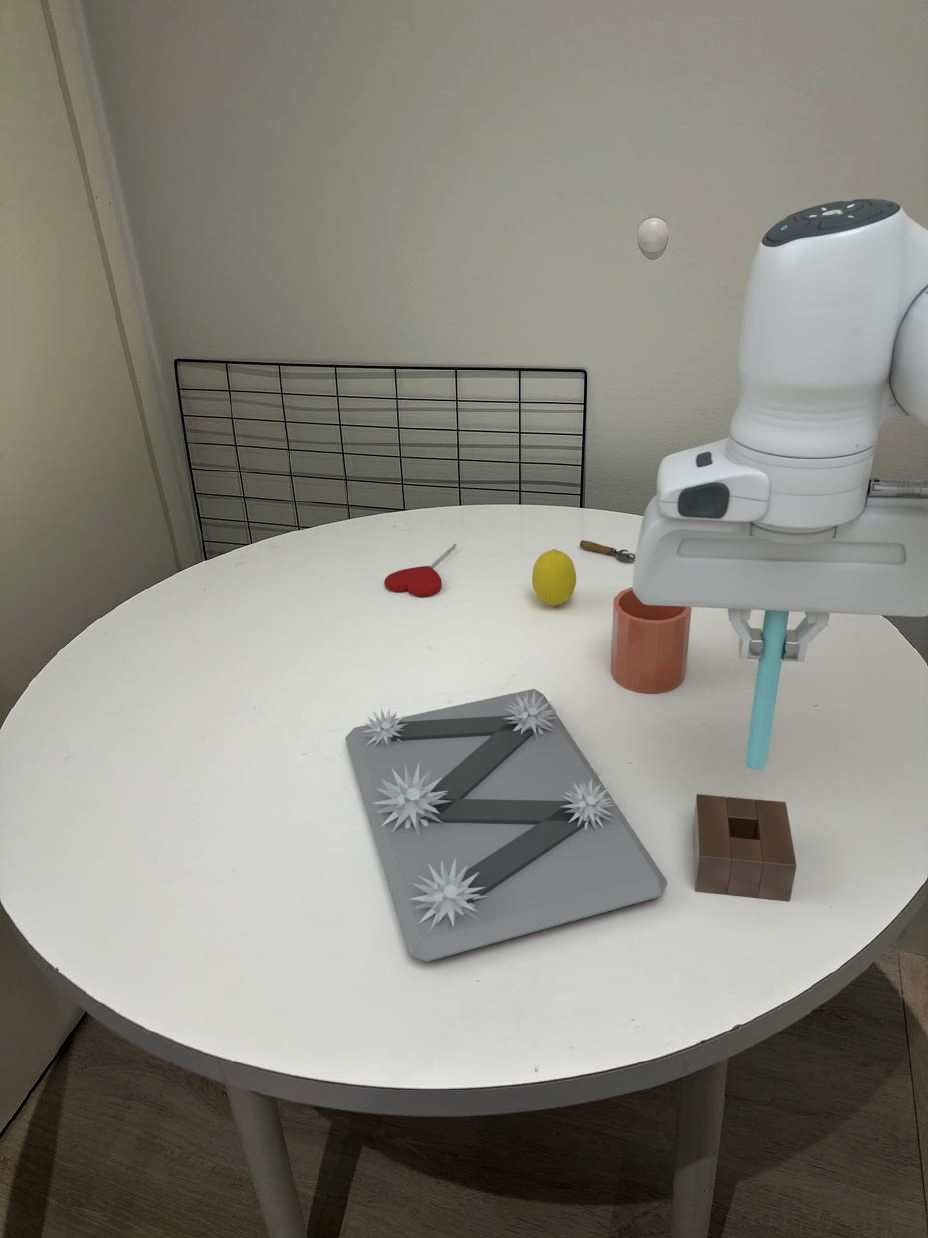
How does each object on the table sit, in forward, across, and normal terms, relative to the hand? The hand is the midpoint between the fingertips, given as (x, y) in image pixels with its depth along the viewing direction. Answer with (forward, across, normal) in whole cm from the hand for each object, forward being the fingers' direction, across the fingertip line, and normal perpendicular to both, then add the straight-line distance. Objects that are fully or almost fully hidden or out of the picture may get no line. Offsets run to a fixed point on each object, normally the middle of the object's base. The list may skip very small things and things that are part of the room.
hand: (770, 656), depth 65 cm
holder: (+21, 0, 0) cm, 21 cm away
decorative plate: (+21, +22, -3) cm, 31 cm away
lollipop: (+21, +38, -50) cm, 66 cm away
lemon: (+21, +20, -42) cm, 51 cm away
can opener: (+21, +14, -57) cm, 62 cm away
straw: (+10, 0, 0) cm, 10 cm away
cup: (+21, +8, -28) cm, 36 cm away
